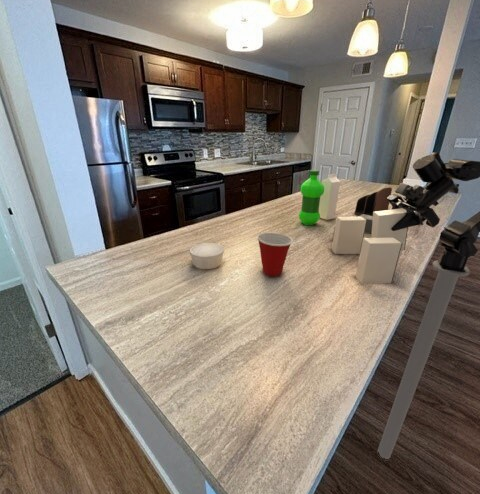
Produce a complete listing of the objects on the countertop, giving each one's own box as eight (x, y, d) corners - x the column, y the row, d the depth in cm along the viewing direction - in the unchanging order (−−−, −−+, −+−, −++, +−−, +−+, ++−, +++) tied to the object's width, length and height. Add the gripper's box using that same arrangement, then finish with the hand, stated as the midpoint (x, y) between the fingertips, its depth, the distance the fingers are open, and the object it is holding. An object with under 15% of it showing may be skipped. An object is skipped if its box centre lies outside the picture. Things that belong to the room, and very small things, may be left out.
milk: (317, 217, 136) (322, 173, 127) (325, 215, 139) (331, 172, 130) (326, 220, 131) (332, 175, 123) (335, 218, 134) (341, 174, 126)
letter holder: (387, 211, 146) (393, 185, 141) (372, 218, 134) (378, 191, 128) (369, 207, 153) (374, 183, 148) (354, 214, 141) (358, 188, 135)
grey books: (380, 231, 117) (383, 218, 115) (353, 247, 101) (356, 232, 98) (360, 226, 123) (363, 214, 121) (332, 240, 107) (334, 226, 105)
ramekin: (187, 258, 91) (186, 245, 89) (218, 254, 95) (218, 240, 93) (194, 274, 82) (193, 259, 80) (228, 268, 85) (228, 253, 83)
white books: (355, 249, 99) (361, 216, 94) (391, 283, 77) (402, 243, 72) (331, 249, 99) (336, 216, 94) (361, 284, 77) (370, 243, 72)
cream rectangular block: (398, 244, 88) (402, 208, 83) (404, 250, 84) (410, 212, 79) (370, 247, 89) (373, 211, 83) (375, 253, 85) (379, 215, 80)
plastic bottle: (298, 219, 132) (303, 168, 123) (320, 221, 129) (327, 169, 120) (295, 225, 124) (300, 171, 114) (318, 228, 120) (326, 172, 111)
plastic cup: (297, 275, 81) (301, 239, 77) (268, 284, 76) (271, 247, 72) (276, 261, 90) (278, 228, 85) (249, 268, 85) (250, 234, 80)
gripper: (398, 169, 86) (359, 202, 89) (442, 179, 68) (391, 220, 72) (416, 193, 89) (377, 224, 93) (461, 208, 72) (411, 245, 76)
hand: (387, 227), depth 83 cm, fingers closed on cream rectangular block, 4 cm apart
